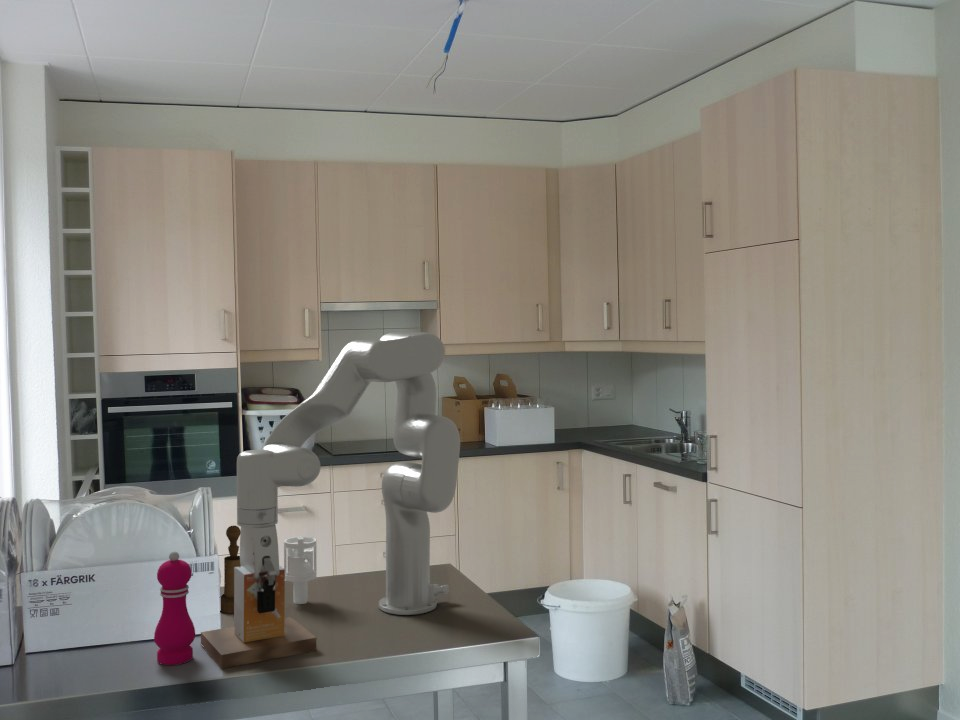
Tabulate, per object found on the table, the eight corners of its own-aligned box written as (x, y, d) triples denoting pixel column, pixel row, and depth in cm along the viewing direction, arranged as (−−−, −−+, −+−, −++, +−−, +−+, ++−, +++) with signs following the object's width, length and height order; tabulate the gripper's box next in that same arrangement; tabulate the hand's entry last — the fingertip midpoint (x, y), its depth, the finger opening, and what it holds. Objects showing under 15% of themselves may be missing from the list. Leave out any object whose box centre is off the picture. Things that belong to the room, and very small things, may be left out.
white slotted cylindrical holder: (284, 607, 201) (284, 539, 200) (283, 598, 208) (283, 532, 207) (317, 605, 202) (317, 538, 202) (315, 596, 209) (315, 530, 208)
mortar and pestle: (253, 610, 199) (253, 527, 198) (224, 615, 196) (223, 531, 195) (242, 602, 205) (242, 521, 204) (213, 607, 201) (213, 525, 200)
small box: (243, 643, 171) (243, 574, 171) (233, 633, 177) (233, 566, 176) (285, 636, 176) (285, 568, 175) (274, 626, 181) (274, 560, 180)
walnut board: (290, 629, 187) (290, 616, 187) (316, 650, 175) (316, 637, 175) (200, 645, 178) (200, 632, 178) (221, 668, 166) (221, 655, 166)
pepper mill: (163, 651, 174) (162, 546, 173) (201, 652, 174) (200, 547, 173) (148, 666, 167) (146, 556, 166) (187, 666, 167) (186, 557, 166)
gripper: (292, 522, 170) (292, 614, 171) (262, 505, 185) (262, 590, 185) (252, 526, 166) (252, 621, 167) (224, 509, 181) (225, 596, 182)
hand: (257, 604), depth 176 cm, fingers open, 9 cm apart
